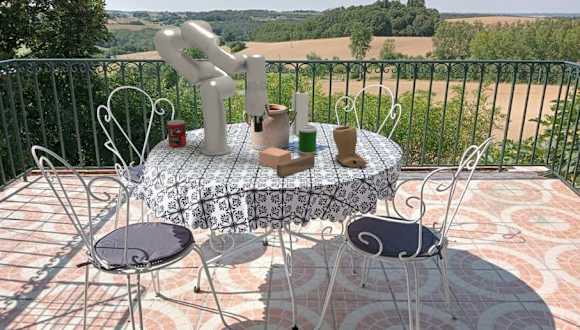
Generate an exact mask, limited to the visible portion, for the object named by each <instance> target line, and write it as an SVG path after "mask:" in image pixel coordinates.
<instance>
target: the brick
mask: <svg viewBox="0 0 580 330" xmlns="http://www.w3.org/2000/svg"><path fill="white" fill-rule="evenodd" d="M289 160H292V151H290V150H285V149H282V148H277V147H269V148H266V149H263V150H261V151H258V165H260V166H265V167H268V168H272V169H275V170H277V164H279V163H282V162H286V161H289Z"/></svg>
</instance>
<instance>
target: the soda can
mask: <svg viewBox="0 0 580 330" xmlns="http://www.w3.org/2000/svg"><path fill="white" fill-rule="evenodd" d="M317 130H318V129H317V128H316V127H315V125H312V124H311V125H310V124H308V125H303V126H301V127H300V128H299V136H298V152H299V153H300V155H301V156H305V155H308V154H310V155H314V156H315V154H316V153H317Z"/></svg>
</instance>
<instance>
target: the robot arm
mask: <svg viewBox="0 0 580 330" xmlns="http://www.w3.org/2000/svg"><path fill="white" fill-rule="evenodd" d="M153 42H154V48H155V50H156V52H157V54H158V55H159V58H161V59H162V60H163V61H164V62H165V63H166V64H168V65H169V66H170V67H171V68H172V69H174V71H176V72H177V73H178V74H179V75H180V76H182V78H184V79H185V80H186V81H187V82H188V83H189V84H191V85H192V86H199V97H200V100H201V106H202V113H203V116H202V117H203V130H204V131H203V133H204V136H203V137H204V140H201V144H202V145H203V147H202V148H201V153H202V155H207V156H222V155H228V154H230V153H231V151H232V149H231V147H230V146H228V137H227V136H228V132H227V113H226V107H225V105H224V101H223V100H225V99H229V98H231V97H233V96H234V95H235V94H236V92H237V86H236V82H235V80H234V79H233V78H232V77H231V76H230V75H235V74H242V73H246V90H245V94H244V95H245V96H244V97H245V98H244V112H245V114H247V115H248V116H249V117H250V118H251V119H252V122H253V132H255V133H262V132H263V131H264V129H263V123H264V121H265V120H267V119H269V114H270V102H269V101H270V100H269V94H268V90H267V73H266V72H267V71H266V57H265V55H264V54H261V53H252V54H251V53H245V52H240V53H229V52H227V51H226V50H224V49H222V48H221V47H220V44H221V39H220V37H219V36H218V35H217V34H215V33H214V32H213V28H212V26H211V25H210V24H209V22H207V21H205V20H204V19H203V20H202V19H201V20H200V19H199V20H197V19H196V20H195V19H194V20H191V19H190V20H186V21H184V22H183V23H182V24H180V27H167V28H162V29H160V30H158V31H157V32H156V33H155V35H154V41H153ZM193 46H195V48H197V49H199V50H200V51H201V52H203V53H204V54H206V57H207V59H208V61H207V60H204V61H198V60H195V59H194V58H193V57H192V56H190V54H188V53H187V52H186V51H183V50H181V49H185V48H190V47H193Z"/></svg>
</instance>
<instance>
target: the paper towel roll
mask: <svg viewBox="0 0 580 330" xmlns="http://www.w3.org/2000/svg"><path fill="white" fill-rule="evenodd" d="M309 94H310V93H309V92H308V91H296V92H295V91H294V92H291V110H292V109H295V110H296V112H297V115H296V118H295V120H294V122H293V123H292V122H291V135H296V136H298V137H299V128H300V127H301V126H303V125H309V97H310V96H309Z"/></svg>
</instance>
